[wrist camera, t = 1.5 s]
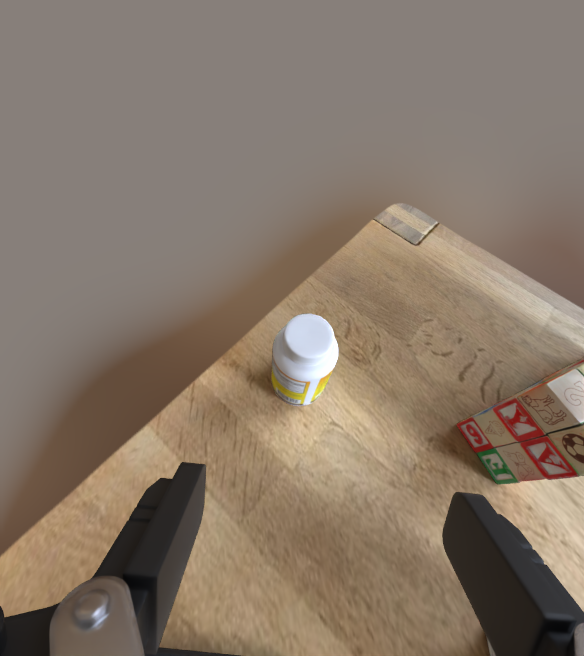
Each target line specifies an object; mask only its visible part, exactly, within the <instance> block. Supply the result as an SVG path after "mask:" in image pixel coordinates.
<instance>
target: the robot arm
mask: <svg viewBox="0 0 584 656" xmlns="http://www.w3.org/2000/svg"><path fill="white" fill-rule="evenodd" d="M205 481H206V465H205V464H196V463H187V462H182V463H181V464H180V465H179V467H178V469H177V471H176V473H175V475H174V477H173V479H167V478H160V479H159V480H158V481H156V482H155V483H154V484H153V485H151V486H150V487H149V488H148V489H147V490H146V491H145V493H144V494H143V496H142V498H141V499H140V501H139V503H138V504H137V507H136V508H135V509H134V511H133V512H132V514H131V516H130V518H129V521H127V522H126V524H125V526H124V527H123V529H122V531H121V532H120V534H119V535H118V537H117V539H116V540H115V542H114V544H113V545H112V547H111V549H110V550H109V552H108V553H107V555H106V557H105V558H104V560H103V562H102V563H101V565H100V567H99V568H98V570H97V572H96V573H95V574H94V576H93V577H92V578H91V579H90V580H88V581H86V582H84V583H82V584H81V585H79V586H78V587H76V588H75V589H74V590H72V591H71V592H70V593H69V594H68V595H67V596H66V597H65V598H64V599H63V600H62V602H60V603H58V604H56V605H53V606H50V607H47V608H43V609H39V610H35V611H31V612H26V613H22V614H18V615H14V616H9V617H5V618H4V613H3V610H2V608H1V606H0V656H145V654H155V655H156V653H157V650H158V647H159V644H160V642H161V639H162V636H163V633H164V630H165V627H166V624H167V621H168V618H169V615H170V612H171V609H172V606H173V603H174V600H175V598H176V595H177V592H178V589H179V586H180V583H181V580H182V577H183V574H184V571H185V568H186V565H187V562H188V559H189V556H190V554H191V551H192V548H193V545H194V542H195V539H196V536H197V533H198V530H199V527H200V524H201V520H202V515H203V510H204V499H205ZM442 537H443V545H444V549H445V552H446V554H447V556H448V558H449V560H450V562H451V564H452V566H453V568H454V571H455V573H456V575H457V577H458V579H459V581H460V583H461V585H462V587H463V589H464V591H465V593H466V595H467V597H468V599H469V601H470V603H471V605H472V608H473V610H474V612H475V614H476V616H477V618H478V620H479V622H480V624H481V626H482V628H483V630H484V632H485V634H486V636H487V638H488V640H489V642H490V645H491V647H492V649H493V651H494V653H495V655H496V656H584V612H583V611H582V610H581V608H580V607H579V606H578V604H577V603H576V602H575V601H574V599H573V598H572V597H571V596H570V594H569V593H568V592H567V590H566V589H565V588H564V587H563V585H562V584H561V583H560V581H559V580H558V579H557V578H556V576H555V575H554V574H553V573H552V571H551V570H550V569H549V567H548V566H547V565H544V562H543V560H542V558H541V557H540V556H539V555H538V553H537V552H536V551H535V550H533V549H532V546H531V544H530V543H529V542H528V541H527V539H526V538H525V537H524V535H523V534H522V533H521V532H520V530H519V529H518V528H516V527H515V526H514V525H513V524H512V523H511V522H509V521H508V520H507V519H506V518H505V517H503V516H502V515H501V514H497V513H496V511H495V510H494V509H493V507H492V506H491V505H490V503H489V502H488V501H487V499H486V498H485V497H484V496H483V495H480V494H472V493H462V492H456V493H454V495H453V497H452V500H451V504H450V507H449V510H448V514H447V517H446V521H445V524H444V528H443V535H442Z"/></svg>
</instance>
